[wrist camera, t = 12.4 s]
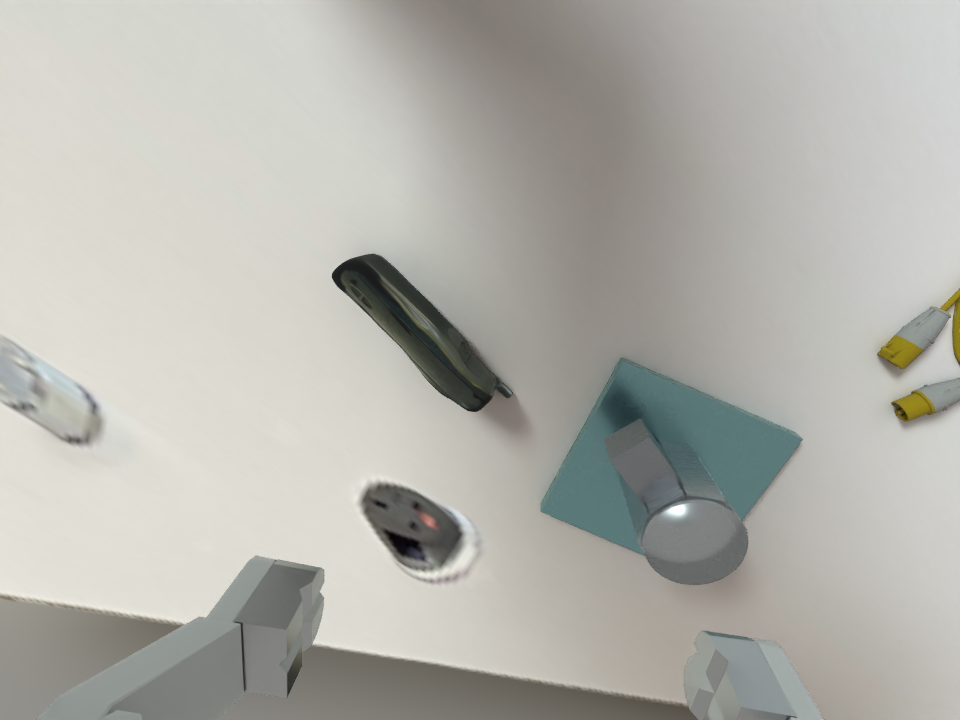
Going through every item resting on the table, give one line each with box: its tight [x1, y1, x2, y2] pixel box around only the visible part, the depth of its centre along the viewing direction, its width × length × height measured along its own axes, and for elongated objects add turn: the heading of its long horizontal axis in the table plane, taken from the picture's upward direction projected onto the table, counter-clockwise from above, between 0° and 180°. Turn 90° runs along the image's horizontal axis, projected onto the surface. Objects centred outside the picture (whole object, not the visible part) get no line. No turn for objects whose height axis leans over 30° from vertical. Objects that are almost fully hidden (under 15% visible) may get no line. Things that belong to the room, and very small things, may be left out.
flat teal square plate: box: [541, 358, 803, 556], centre depth 34 cm, size 14×14×6 cm
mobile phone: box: [332, 254, 513, 412], centre depth 33 cm, size 5×3×15 cm
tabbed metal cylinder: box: [604, 418, 748, 585], centre depth 32 cm, size 10×6×8 cm, turn 37°
